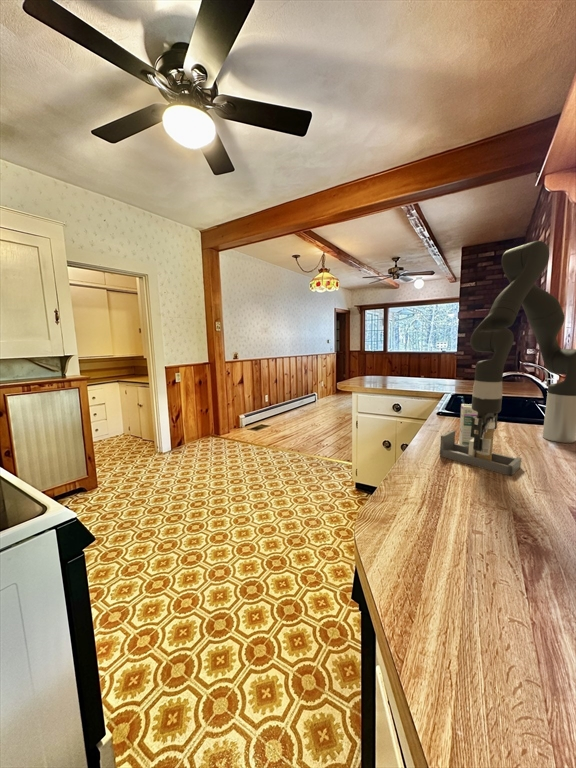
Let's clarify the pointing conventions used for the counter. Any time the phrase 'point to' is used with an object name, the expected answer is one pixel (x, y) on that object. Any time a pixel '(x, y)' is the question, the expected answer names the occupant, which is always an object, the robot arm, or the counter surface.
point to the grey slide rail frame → (461, 454)
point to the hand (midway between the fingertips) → (482, 446)
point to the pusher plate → (471, 448)
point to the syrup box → (466, 423)
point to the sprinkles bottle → (487, 444)
